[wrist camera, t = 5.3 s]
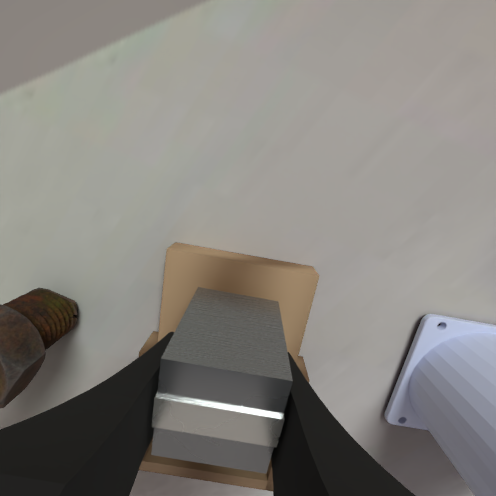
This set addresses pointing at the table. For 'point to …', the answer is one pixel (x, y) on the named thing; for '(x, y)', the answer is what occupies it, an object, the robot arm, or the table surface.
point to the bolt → (30, 336)
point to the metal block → (223, 383)
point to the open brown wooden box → (239, 282)
